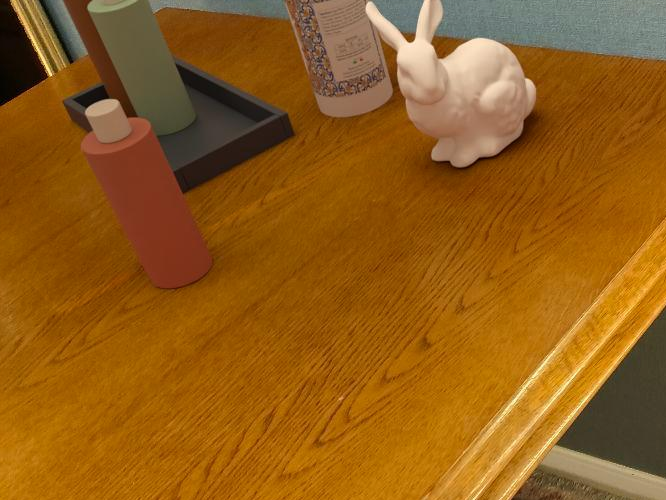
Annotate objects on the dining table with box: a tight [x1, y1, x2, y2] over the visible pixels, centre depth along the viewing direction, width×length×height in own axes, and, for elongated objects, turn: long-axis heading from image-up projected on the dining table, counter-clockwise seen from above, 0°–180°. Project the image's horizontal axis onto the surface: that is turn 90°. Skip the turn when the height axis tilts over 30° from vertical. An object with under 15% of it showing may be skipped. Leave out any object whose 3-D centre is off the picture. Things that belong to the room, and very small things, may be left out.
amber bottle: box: [62, 0, 138, 118], centre depth 92 cm, size 5×5×13 cm
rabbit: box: [365, 0, 537, 168], centre depth 80 cm, size 12×9×12 cm
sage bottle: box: [87, 0, 196, 136], centre depth 89 cm, size 5×5×13 cm
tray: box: [61, 54, 296, 194], centre depth 92 cm, size 12×24×3 cm, turn 42°
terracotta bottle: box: [80, 99, 213, 290], centre depth 73 cm, size 5×5×13 cm
